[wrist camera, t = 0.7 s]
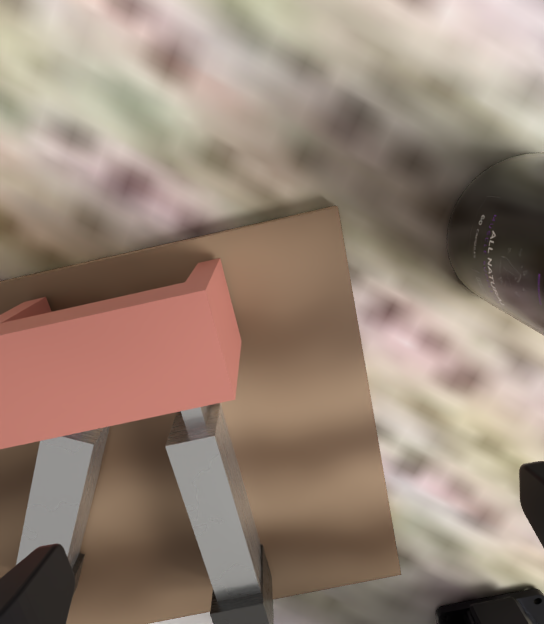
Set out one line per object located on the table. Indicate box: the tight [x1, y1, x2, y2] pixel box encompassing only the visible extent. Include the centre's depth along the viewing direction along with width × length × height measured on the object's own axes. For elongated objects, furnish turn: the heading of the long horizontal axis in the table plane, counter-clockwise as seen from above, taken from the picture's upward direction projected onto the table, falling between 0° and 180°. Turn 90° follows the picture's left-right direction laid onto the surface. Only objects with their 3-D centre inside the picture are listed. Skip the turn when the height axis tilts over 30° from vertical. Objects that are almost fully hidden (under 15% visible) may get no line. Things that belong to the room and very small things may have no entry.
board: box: [0, 206, 401, 624], centre depth 24 cm, size 21×22×1 cm
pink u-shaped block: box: [0, 258, 241, 449], centre depth 18 cm, size 4×9×6 cm, turn 102°
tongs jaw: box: [16, 426, 110, 595], centre depth 21 cm, size 15×3×3 cm, turn 162°
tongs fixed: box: [165, 403, 273, 624], centre depth 22 cm, size 16×4×4 cm, turn 12°
